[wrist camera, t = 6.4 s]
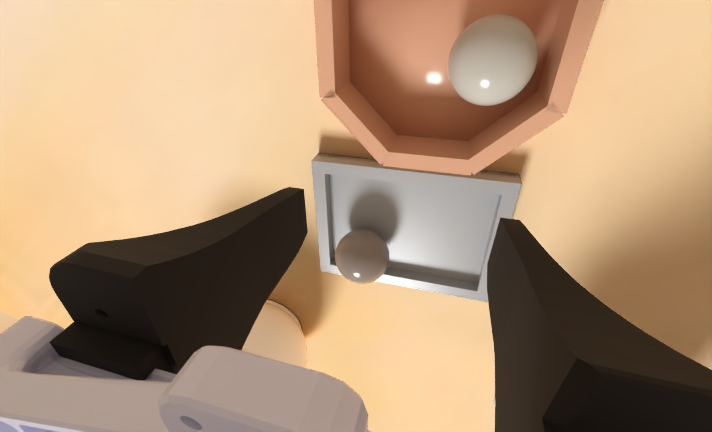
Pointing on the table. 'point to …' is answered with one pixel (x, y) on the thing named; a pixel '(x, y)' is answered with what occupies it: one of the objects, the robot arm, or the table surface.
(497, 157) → the bowl
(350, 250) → the pebble dark
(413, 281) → the tray
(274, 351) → the lidded jar
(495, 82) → the pebble grey
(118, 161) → the table surface
